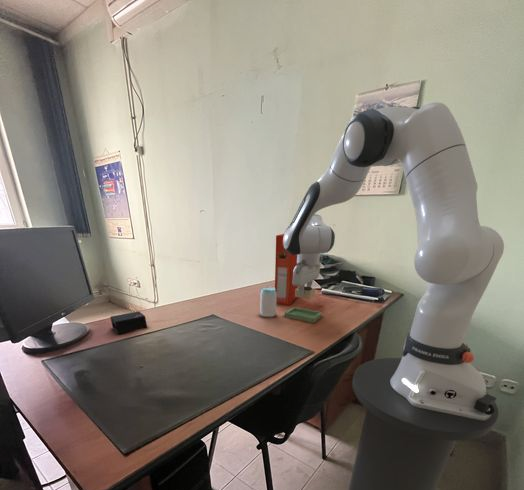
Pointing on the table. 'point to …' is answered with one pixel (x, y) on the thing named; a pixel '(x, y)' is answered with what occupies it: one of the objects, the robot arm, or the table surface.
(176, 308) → the table surface
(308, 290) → the cream rectangular box
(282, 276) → the file binder
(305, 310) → the tray
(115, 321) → the electronic device
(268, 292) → the can
